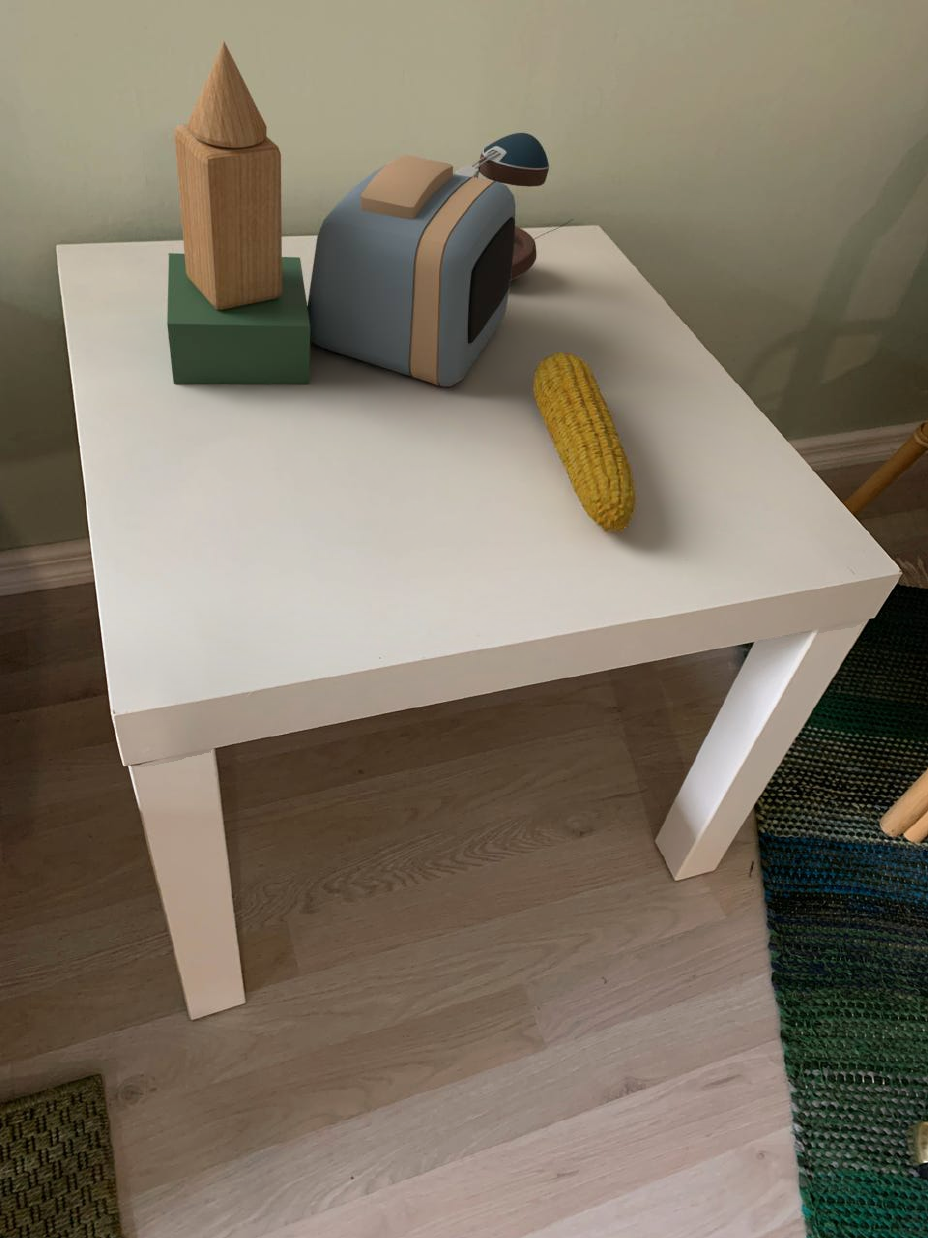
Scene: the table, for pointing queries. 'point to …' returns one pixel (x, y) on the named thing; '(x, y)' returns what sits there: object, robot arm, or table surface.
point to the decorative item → (230, 193)
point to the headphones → (514, 182)
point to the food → (585, 439)
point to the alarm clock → (414, 270)
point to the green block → (238, 333)
